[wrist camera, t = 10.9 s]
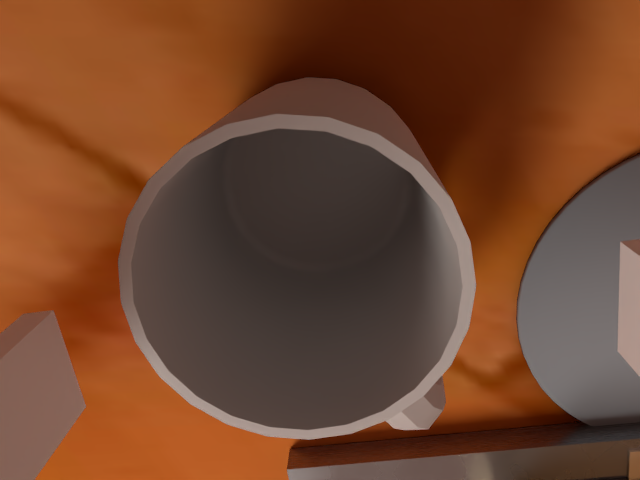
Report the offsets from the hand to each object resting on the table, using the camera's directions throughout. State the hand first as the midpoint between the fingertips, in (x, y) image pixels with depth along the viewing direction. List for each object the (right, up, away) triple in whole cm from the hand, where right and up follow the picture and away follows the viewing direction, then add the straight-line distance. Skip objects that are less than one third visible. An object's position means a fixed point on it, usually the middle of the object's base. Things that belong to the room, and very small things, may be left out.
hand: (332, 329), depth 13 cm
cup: (0, +3, +7) cm, 8 cm away
